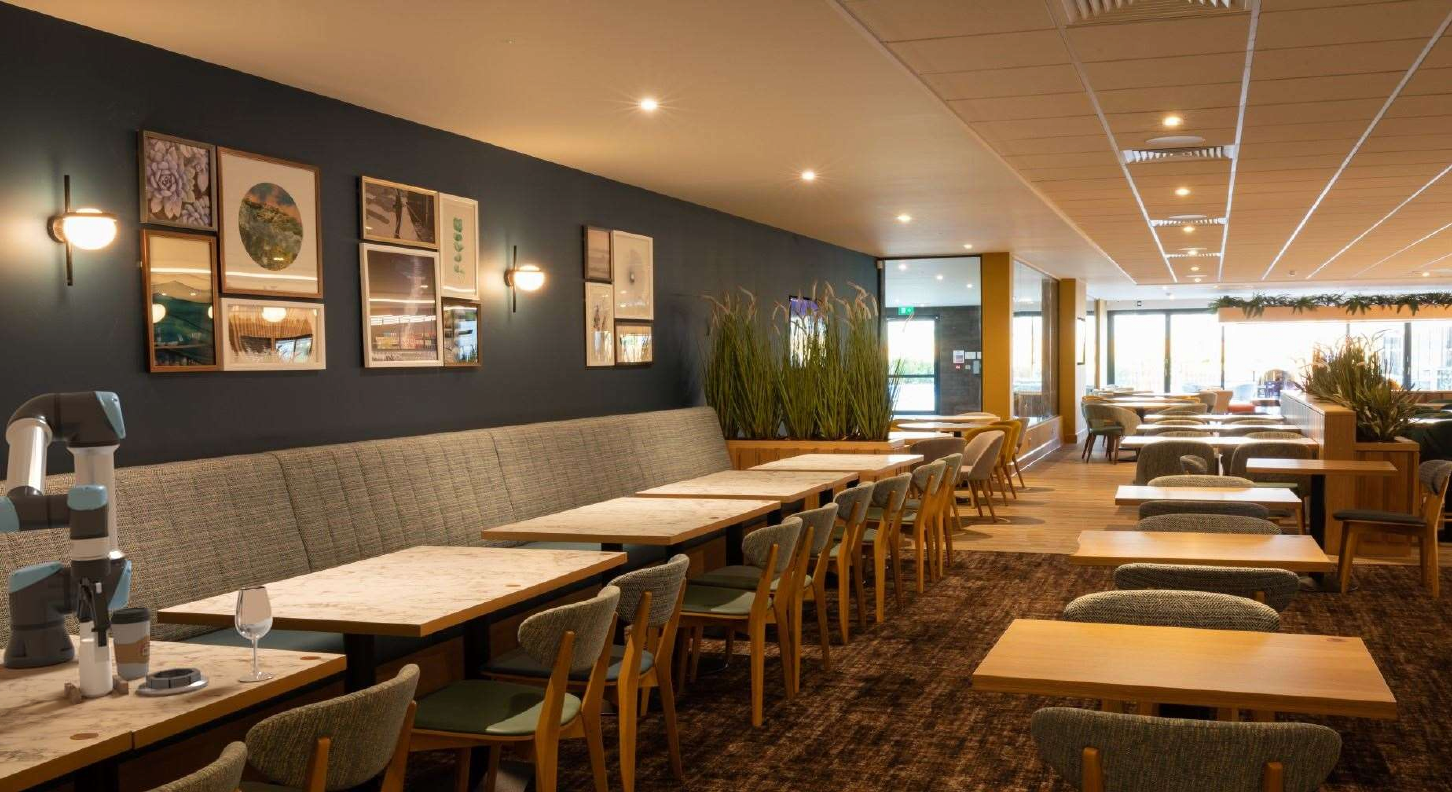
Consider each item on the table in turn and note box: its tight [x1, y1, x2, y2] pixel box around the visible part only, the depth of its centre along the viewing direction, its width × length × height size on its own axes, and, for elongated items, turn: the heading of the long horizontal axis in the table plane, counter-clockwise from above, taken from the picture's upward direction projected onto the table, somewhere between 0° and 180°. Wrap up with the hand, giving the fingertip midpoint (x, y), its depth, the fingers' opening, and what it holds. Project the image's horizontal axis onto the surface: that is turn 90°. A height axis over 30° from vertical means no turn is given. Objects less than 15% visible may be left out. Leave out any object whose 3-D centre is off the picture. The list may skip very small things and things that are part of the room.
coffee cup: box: [110, 606, 152, 681], centre depth 278 cm, size 8×8×15 cm
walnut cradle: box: [64, 674, 130, 705], centre depth 263 cm, size 10×10×2 cm
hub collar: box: [137, 667, 210, 697], centre depth 267 cm, size 14×14×3 cm
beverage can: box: [77, 637, 114, 698], centre depth 263 cm, size 6×6×12 cm
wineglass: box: [234, 585, 275, 683], centre depth 273 cm, size 8×8×20 cm
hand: (95, 657), depth 262 cm, fingers open, 13 cm apart
